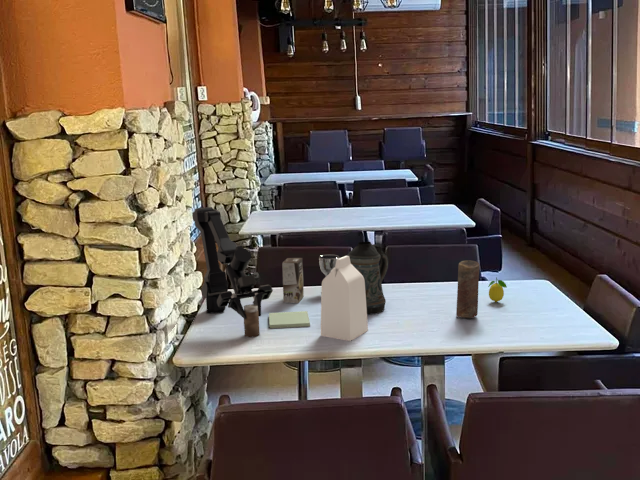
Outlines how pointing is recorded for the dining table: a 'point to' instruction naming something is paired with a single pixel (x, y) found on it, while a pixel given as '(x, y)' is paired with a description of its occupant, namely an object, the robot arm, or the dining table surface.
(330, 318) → the milk
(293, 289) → the coffee box
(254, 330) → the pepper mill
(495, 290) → the lemon
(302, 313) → the serving board
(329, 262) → the wine glass
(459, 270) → the candle
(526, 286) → the dining table surface
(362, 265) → the beer stein
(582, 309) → the dining table surface
